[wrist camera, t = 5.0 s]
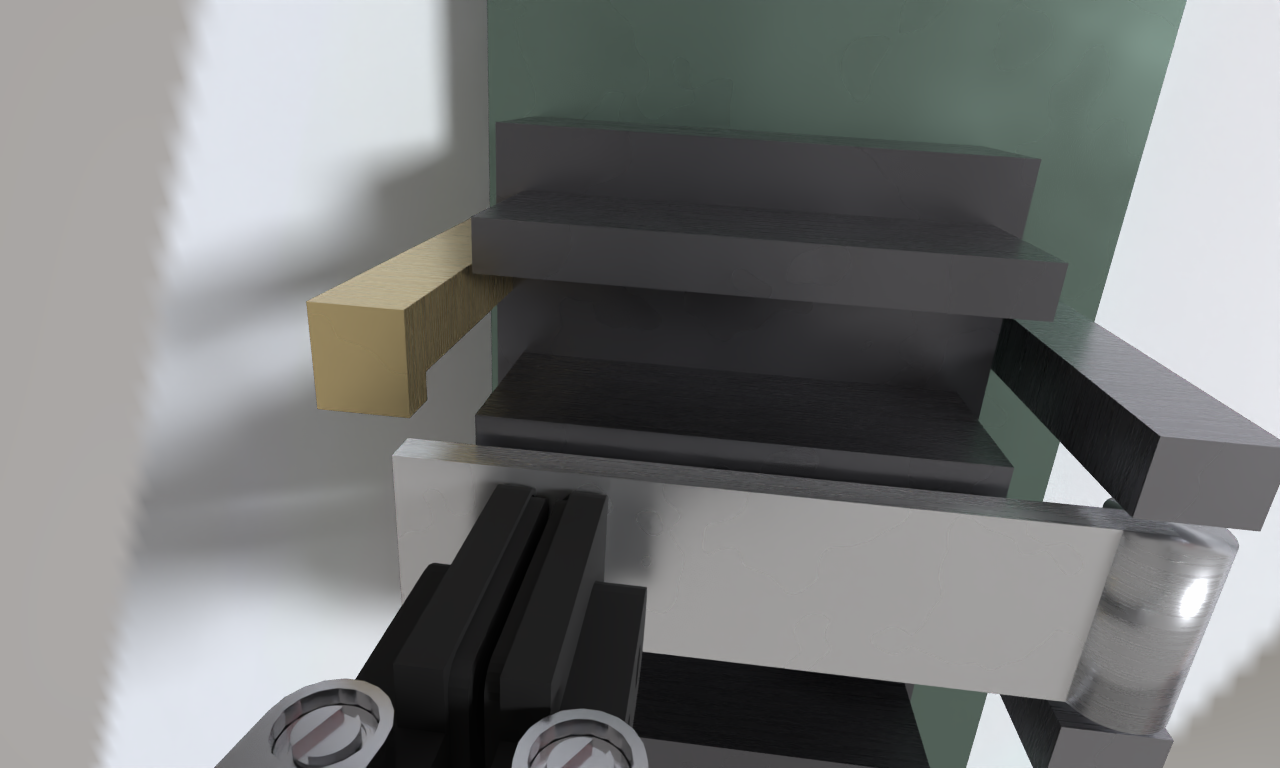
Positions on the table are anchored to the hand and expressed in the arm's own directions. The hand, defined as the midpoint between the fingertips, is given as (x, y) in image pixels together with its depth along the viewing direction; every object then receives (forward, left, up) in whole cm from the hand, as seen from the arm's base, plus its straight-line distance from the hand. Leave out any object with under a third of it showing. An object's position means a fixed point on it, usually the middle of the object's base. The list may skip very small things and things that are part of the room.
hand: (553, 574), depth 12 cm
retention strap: (0, +3, -1) cm, 4 cm away
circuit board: (0, +4, -8) cm, 9 cm away
